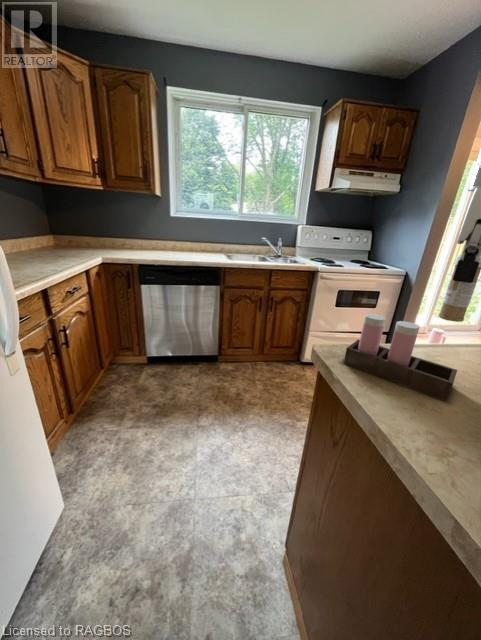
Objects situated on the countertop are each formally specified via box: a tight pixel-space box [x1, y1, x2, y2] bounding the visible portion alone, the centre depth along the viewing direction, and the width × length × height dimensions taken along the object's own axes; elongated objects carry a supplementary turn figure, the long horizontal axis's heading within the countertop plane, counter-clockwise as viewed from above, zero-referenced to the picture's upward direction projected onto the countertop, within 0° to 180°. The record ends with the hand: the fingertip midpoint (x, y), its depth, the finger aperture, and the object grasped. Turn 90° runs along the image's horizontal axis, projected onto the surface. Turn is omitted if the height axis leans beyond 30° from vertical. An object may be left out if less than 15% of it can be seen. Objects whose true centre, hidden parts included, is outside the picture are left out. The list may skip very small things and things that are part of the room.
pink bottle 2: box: [387, 320, 420, 367], centre depth 67 cm, size 5×5×13 cm
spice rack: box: [343, 338, 458, 402], centre depth 68 cm, size 23×8×5 cm, turn 47°
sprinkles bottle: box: [438, 254, 481, 323], centre depth 56 cm, size 5×5×14 cm
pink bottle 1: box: [358, 313, 387, 356], centre depth 71 cm, size 5×5×13 cm
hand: (463, 279), depth 56 cm, fingers closed on sprinkles bottle, 4 cm apart
